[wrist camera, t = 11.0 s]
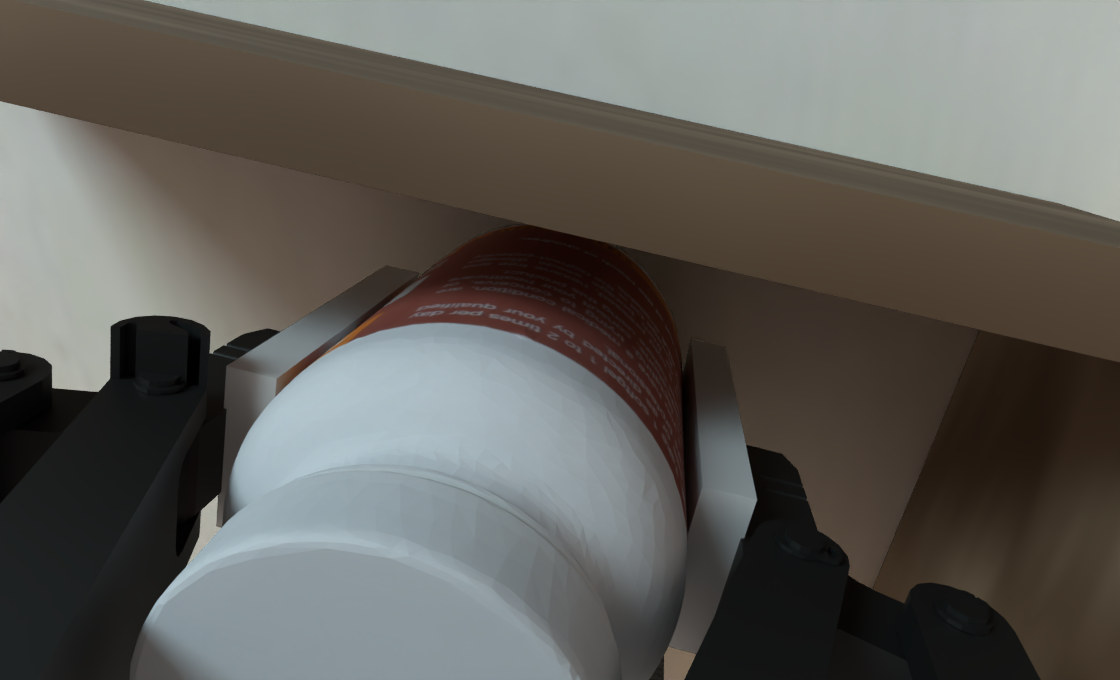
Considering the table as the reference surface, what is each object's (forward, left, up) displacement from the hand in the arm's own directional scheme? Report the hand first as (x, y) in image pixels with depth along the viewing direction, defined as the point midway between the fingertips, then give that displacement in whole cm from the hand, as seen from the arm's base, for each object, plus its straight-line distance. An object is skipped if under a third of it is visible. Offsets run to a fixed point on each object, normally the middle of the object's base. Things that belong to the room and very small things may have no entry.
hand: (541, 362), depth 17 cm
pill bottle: (0, 0, -1) cm, 1 cm away
